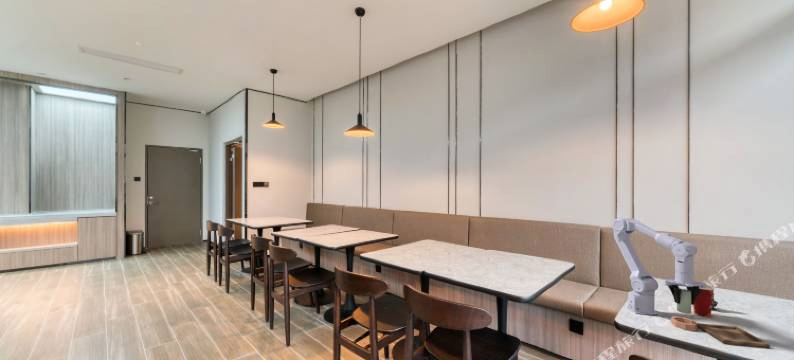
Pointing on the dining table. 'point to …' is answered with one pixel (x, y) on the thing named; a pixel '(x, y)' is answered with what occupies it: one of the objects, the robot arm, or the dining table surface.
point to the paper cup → (704, 301)
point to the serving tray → (732, 335)
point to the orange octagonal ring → (684, 323)
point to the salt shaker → (714, 303)
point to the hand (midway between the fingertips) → (683, 303)
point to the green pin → (685, 302)
